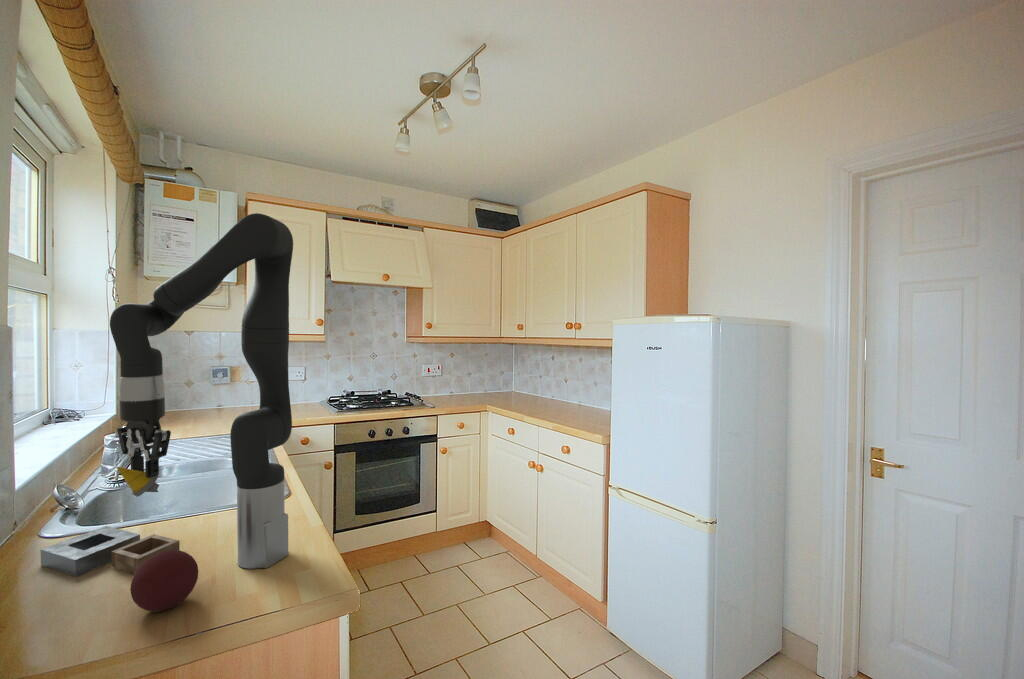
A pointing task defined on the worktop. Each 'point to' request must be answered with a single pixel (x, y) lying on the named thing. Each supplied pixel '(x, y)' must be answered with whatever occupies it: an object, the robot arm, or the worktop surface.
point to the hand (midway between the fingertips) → (144, 475)
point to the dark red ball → (164, 580)
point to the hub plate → (86, 550)
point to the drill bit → (138, 481)
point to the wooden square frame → (141, 552)
